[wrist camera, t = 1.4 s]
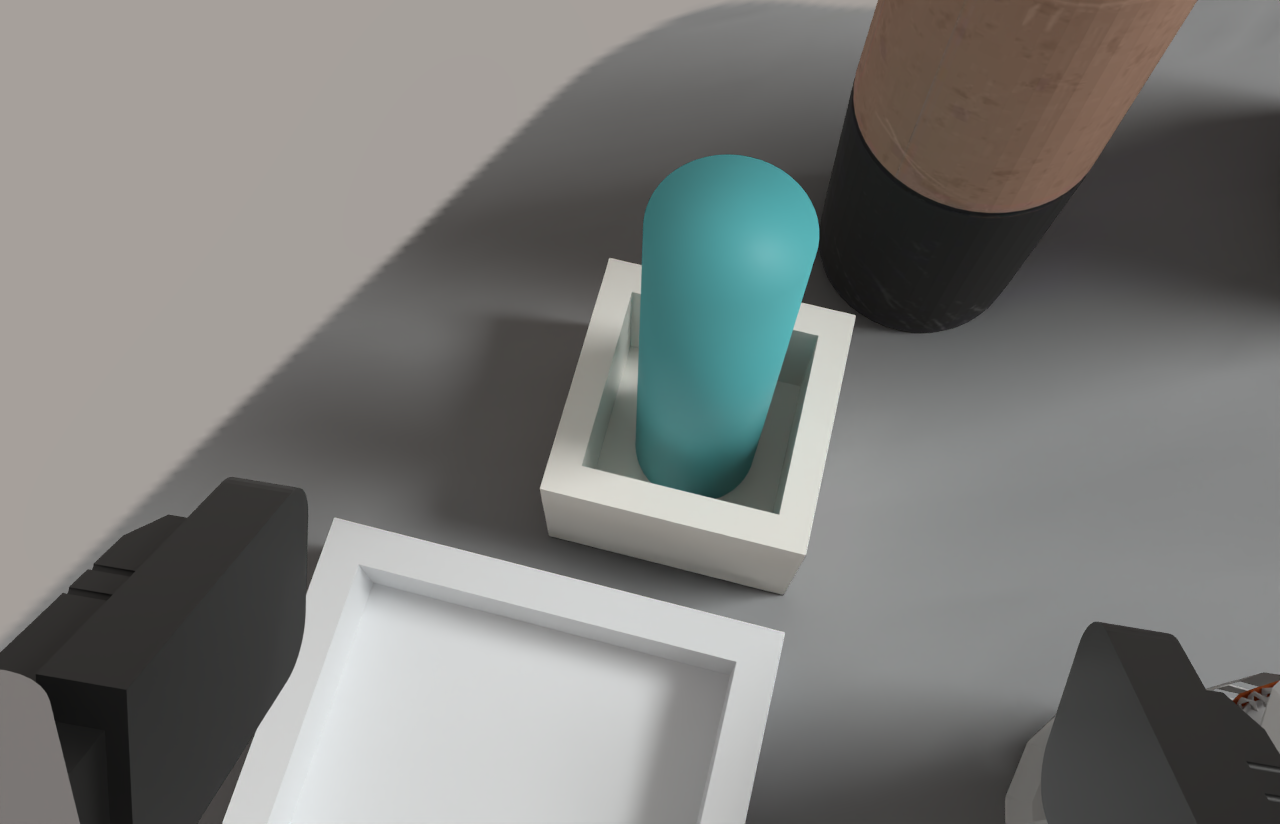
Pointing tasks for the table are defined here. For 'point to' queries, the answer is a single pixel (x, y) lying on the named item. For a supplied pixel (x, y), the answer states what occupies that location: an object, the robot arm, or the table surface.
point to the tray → (503, 699)
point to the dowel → (717, 316)
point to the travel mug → (974, 143)
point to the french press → (1269, 704)
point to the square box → (677, 520)
